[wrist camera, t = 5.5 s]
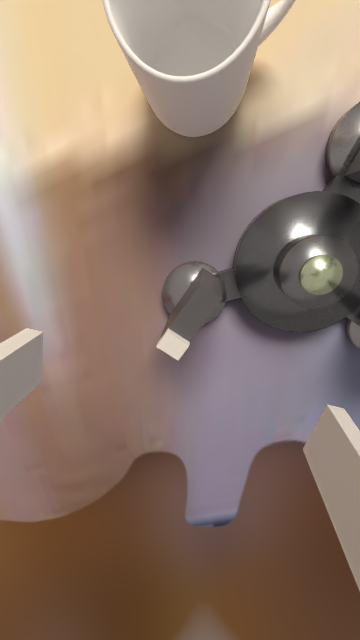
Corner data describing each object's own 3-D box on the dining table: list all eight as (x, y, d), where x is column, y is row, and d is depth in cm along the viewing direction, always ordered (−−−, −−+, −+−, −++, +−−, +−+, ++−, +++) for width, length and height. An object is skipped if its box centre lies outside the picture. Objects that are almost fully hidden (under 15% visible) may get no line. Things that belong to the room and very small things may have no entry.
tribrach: (410, 84, 21) (482, 35, 16) (416, 342, 28) (467, 372, 23) (128, 190, 26) (106, 181, 20) (195, 387, 33) (192, 421, 28)
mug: (300, 91, 22) (375, -16, 12) (169, 157, 25) (143, 114, 15) (271, -40, 20) (336, -309, 10) (130, 49, 22) (66, -90, 12)
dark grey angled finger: (202, 266, 26) (199, 285, 19) (219, 278, 27) (223, 301, 19) (170, 313, 29) (156, 346, 21) (186, 323, 29) (178, 360, 21)
